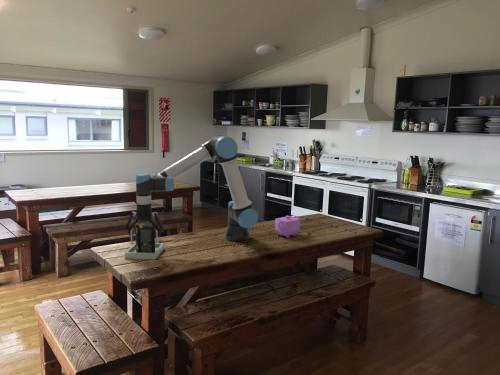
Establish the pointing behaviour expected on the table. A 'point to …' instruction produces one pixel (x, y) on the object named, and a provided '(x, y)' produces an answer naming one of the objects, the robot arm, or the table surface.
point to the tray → (134, 255)
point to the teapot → (287, 226)
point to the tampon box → (145, 238)
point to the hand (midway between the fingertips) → (144, 242)
